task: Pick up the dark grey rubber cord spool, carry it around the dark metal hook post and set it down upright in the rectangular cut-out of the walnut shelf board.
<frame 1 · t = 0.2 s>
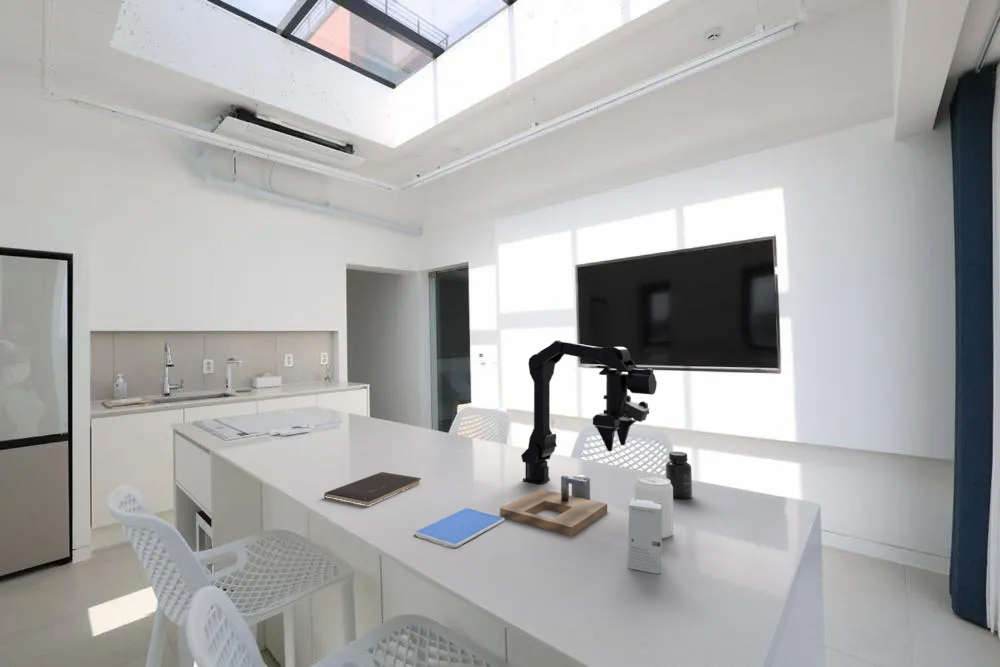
hand: (616, 448, 128), 14 cm above the table, fingers open, 9 cm apart
skincare box: (645, 567, 89), on the table
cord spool: (580, 498, 128), on the table
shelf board: (554, 513, 116), on the table
hook post: (565, 507, 121), resting on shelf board
tablet computer: (461, 530, 108), on the table
supplement bottle: (678, 496, 130), on the table
hardcover book: (374, 493, 135), on the table
beverage can: (654, 533, 105), on the table
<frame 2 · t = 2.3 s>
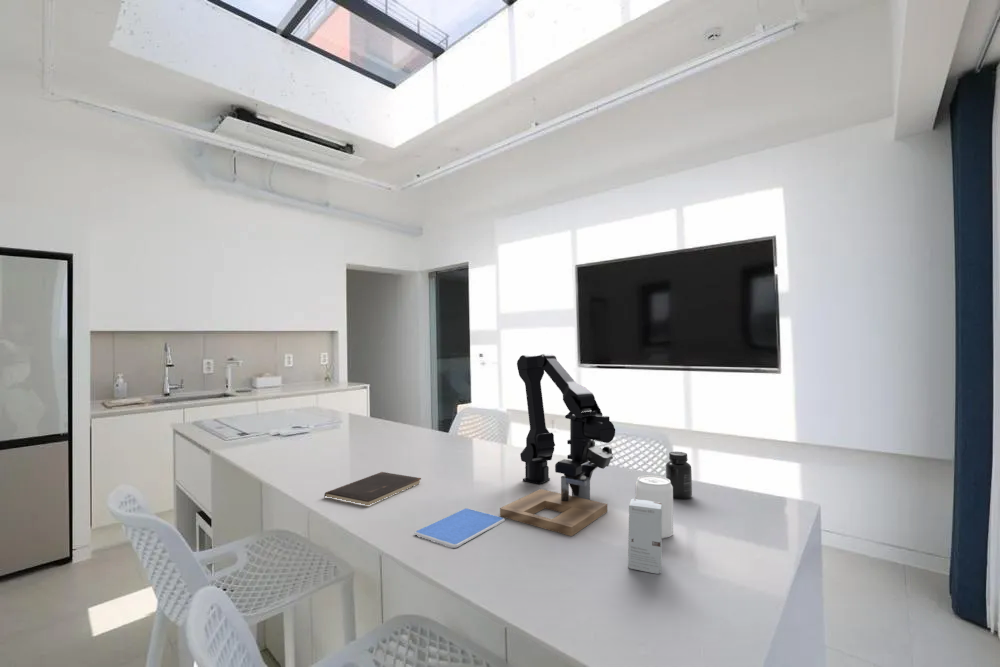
hand: (580, 493, 128), 2 cm above the table, fingers closed on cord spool, 5 cm apart
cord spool: (580, 498, 128), on the table, touching gripper
everything else where it was.
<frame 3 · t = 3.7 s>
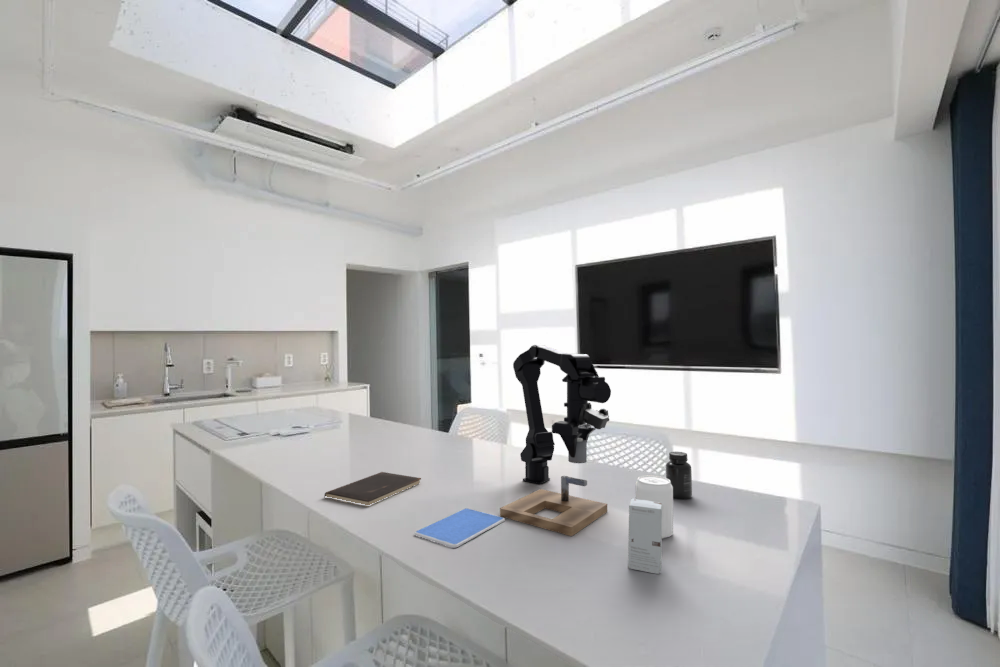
hand: (577, 455, 128), 12 cm above the table, fingers closed on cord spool, 5 cm apart
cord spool: (577, 461, 128), point 10 cm above the table, touching gripper
everything else where it was.
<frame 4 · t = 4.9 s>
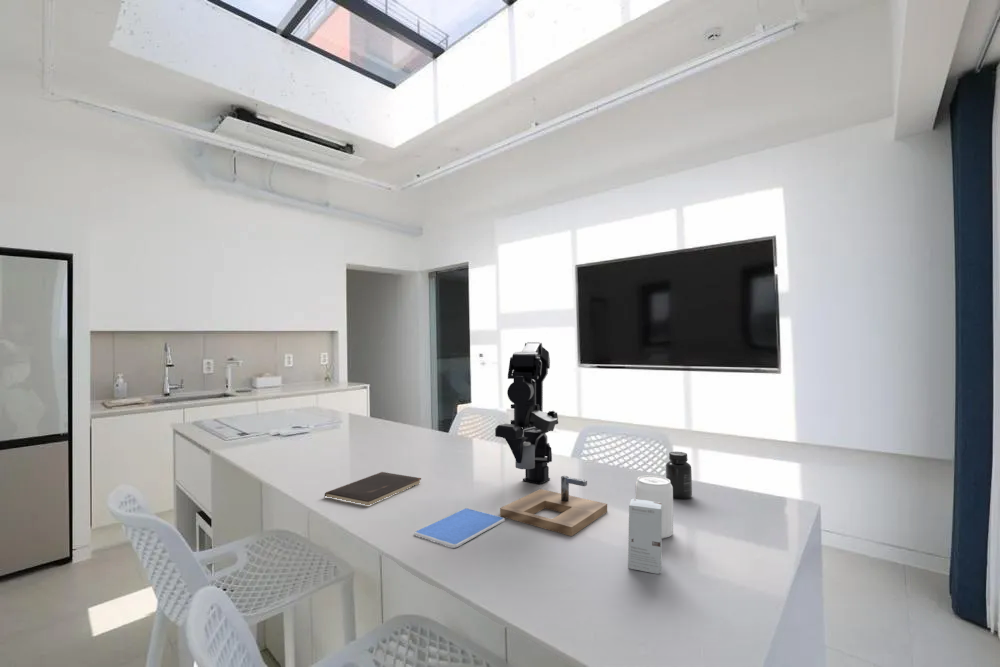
hand: (524, 461, 120), 12 cm above the table, fingers closed on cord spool, 5 cm apart
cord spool: (525, 466, 120), point 11 cm above the table, touching gripper
everything else where it was.
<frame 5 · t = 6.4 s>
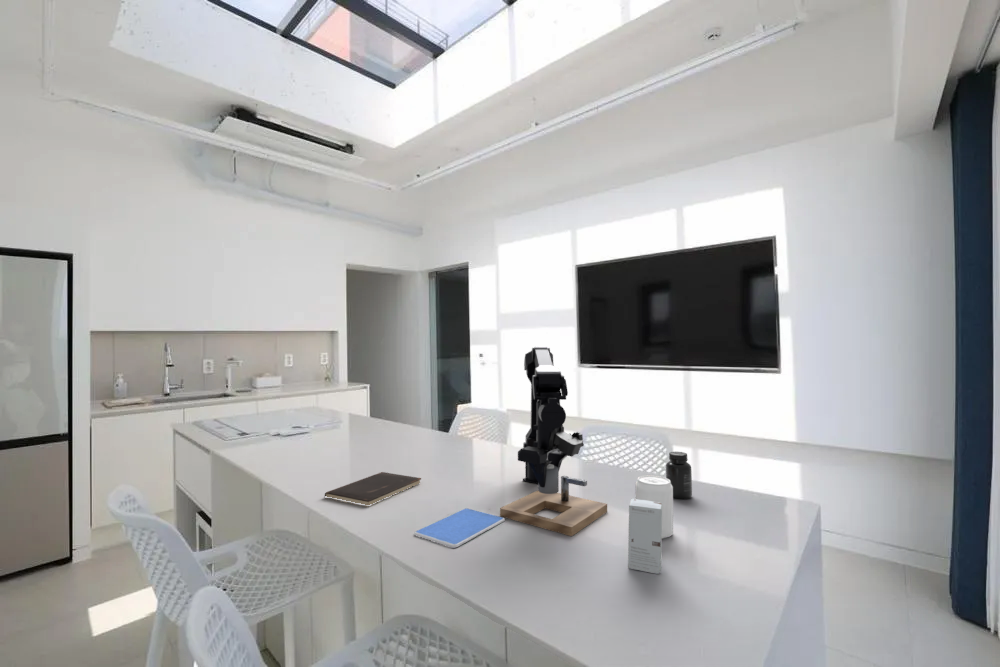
hand: (548, 484, 114), 8 cm above the table, fingers closed on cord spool, 5 cm apart
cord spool: (548, 490, 114), point 7 cm above the table, touching gripper
everything else where it was.
when the fingers open (3 cm above the table, at t = 7.7 s): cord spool drops 2 cm, resting in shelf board.
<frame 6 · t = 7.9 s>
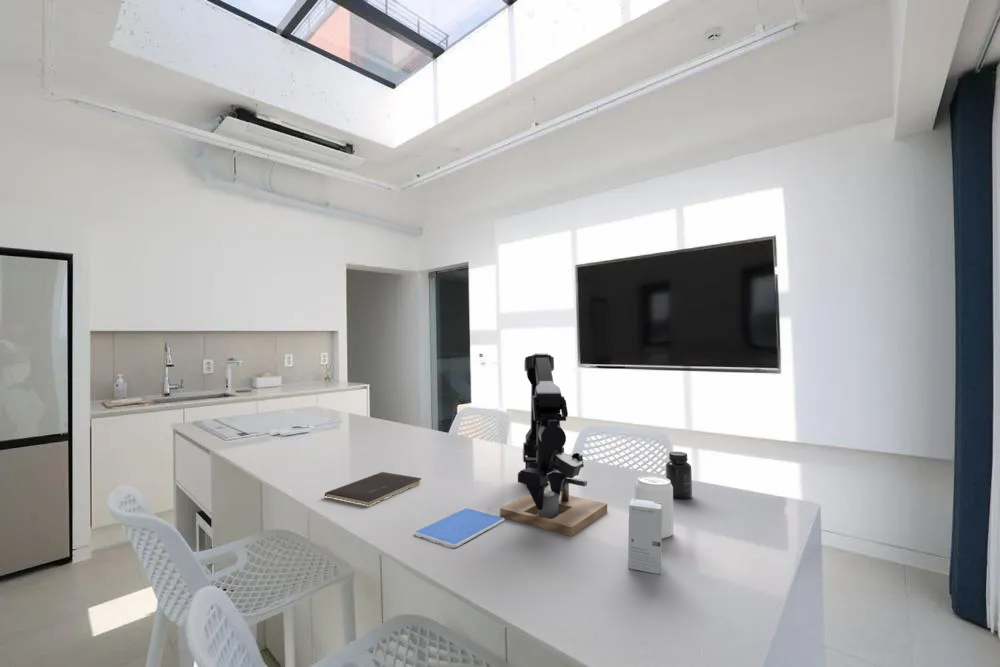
hand: (548, 505, 114), 3 cm above the table, fingers open, 7 cm apart
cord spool: (548, 517, 114), resting in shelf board
everything else where it was.
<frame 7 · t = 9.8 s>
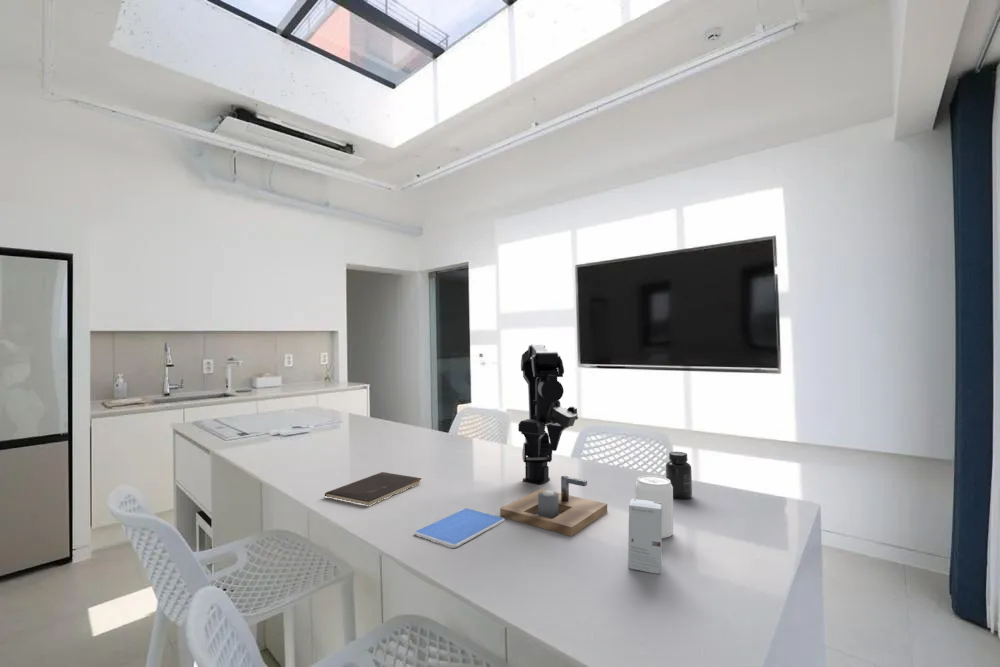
hand: (545, 453, 126), 13 cm above the table, fingers open, 9 cm apart
nothing on the table moved.
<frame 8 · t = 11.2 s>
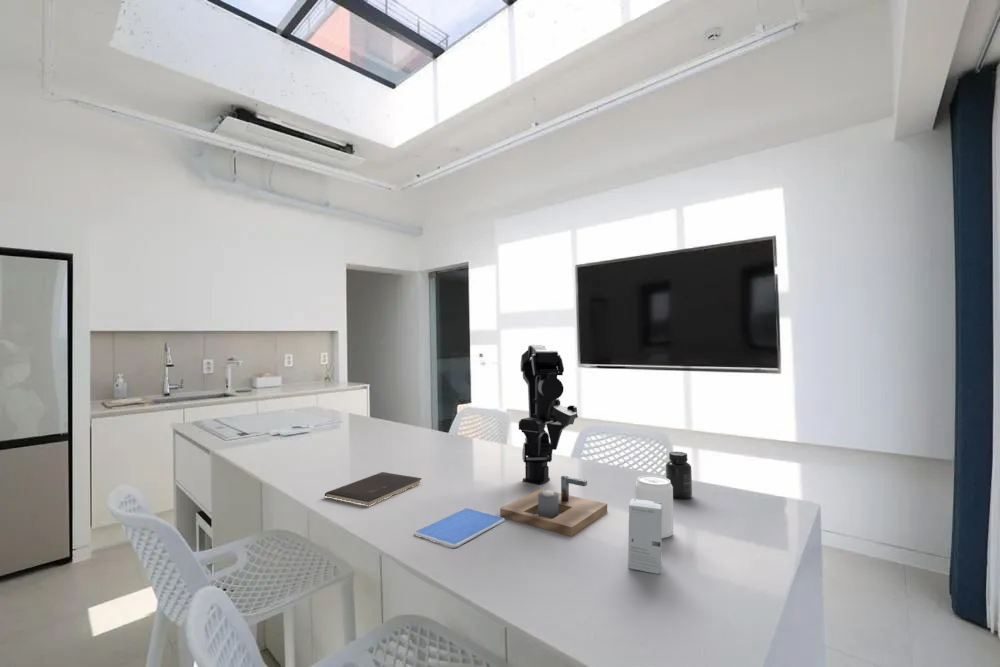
hand: (545, 452, 127), 13 cm above the table, fingers open, 9 cm apart
nothing on the table moved.
at the end: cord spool inside the target area (0.0 cm from its centre), resting in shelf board; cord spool tilted 0°; the gripper is holding nothing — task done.
